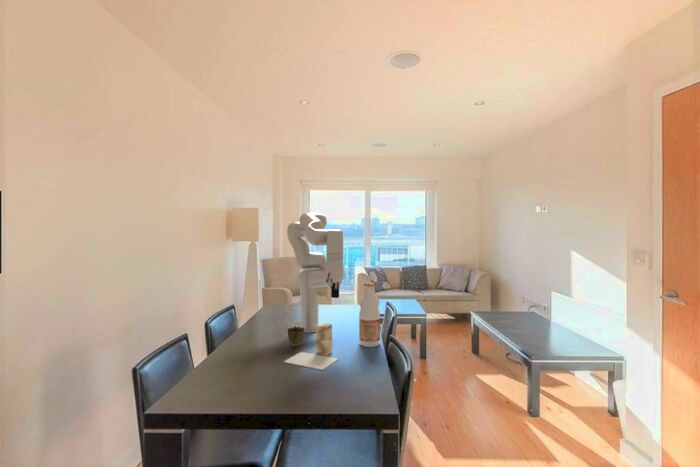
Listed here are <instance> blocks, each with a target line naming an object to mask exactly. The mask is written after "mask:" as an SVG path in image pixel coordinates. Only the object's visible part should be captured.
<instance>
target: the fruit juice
mask: <svg viewBox="0 0 700 467" xmlns="http://www.w3.org/2000/svg"><path fill="white" fill-rule="evenodd" d="M375 285H376V284H375V282H364V283H363V288H364V290H363V293H362V296H361V297H360V299H359V307H360V310H359V314H358V316H359V317H358V319H359V320H358V322H359V324H358V325H359V326H358V327H359V329H358V330H359V331H358V332H359V334H358V336H359V341H358V342H359V345H360V346H361V347H366V348H375V347H378V346H379V345H380V343H381V335H380V334H381V332H380V331H381V326H380V325H381V320H380V319H381V316H380V314H381V313H380V310H379V308H380V299H379V298H378V296H377V295H376V292H375V287H376V286H375Z"/></svg>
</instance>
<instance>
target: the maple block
mask: <svg viewBox="0 0 700 467" xmlns="http://www.w3.org/2000/svg"><path fill="white" fill-rule="evenodd" d="M332 352H333V325H332V323H327V322H321V323H318V325H316V332H315V354H316V355H321V356H327V357H328V356H329V355H330V354H332Z"/></svg>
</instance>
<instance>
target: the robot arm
mask: <svg viewBox="0 0 700 467" xmlns="http://www.w3.org/2000/svg"><path fill="white" fill-rule="evenodd" d="M298 220H299V221H297V222H296V221H295V222H291V223H289V224H288V226H287V229H286V234H287V239H288V241H289V243H290V245H291V247H292V249H293V252H294V256H295V261H296V264H297V267H298V268H299V269H300V270H301V271H300V272H299V273H298V275H297V276H298V277H297V280H298V286H299V287H298V288H299V296H300V297H299V299H300V300H299V301H300V303H299V306H300V310H299V311H300V313H299V315H300V319H295V322H294V325H297V326H298V327H299V328H302V327H303V328H304V334H305V333H316V325H319V295H318V293H317V291H316V290H315V288H323V287H328V286H329V287H330V290H331V291H330V292H331V293H330V298H333V299H339V297H340V289H341V288H340V285H341V284H342V283H343V280H344V277H345V275H344V274H345V272H344V262H343V261H344V232H343V230H341V229H330V228H329V229H326V226H327V223H328V220H327V217H326V215H325V214H323V213H321V212H306V213H302V214H301V215H300V217H299V219H298ZM303 238H305V239H306V240H304V239H303ZM306 241H307V242H308V243H309V244H310V245H312V246H317V247H318V246H326V255H325V254H324V253H322V252H320V251H317V252H316V251H315V252H313V251H311V250H310V247H309V244H308V243H307V242H306Z"/></svg>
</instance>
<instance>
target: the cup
mask: <svg viewBox="0 0 700 467" xmlns="http://www.w3.org/2000/svg"><path fill="white" fill-rule="evenodd" d="M304 334H305V332H304V328H303V327H302V328H299V326H298V327H297V326H294V327H292V326H291V327H289V328H287V338H288V341H289V342H290V343H291V346H292V347H293V348H297V347H300V345H301V343H302V342H303V339H304Z"/></svg>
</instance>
